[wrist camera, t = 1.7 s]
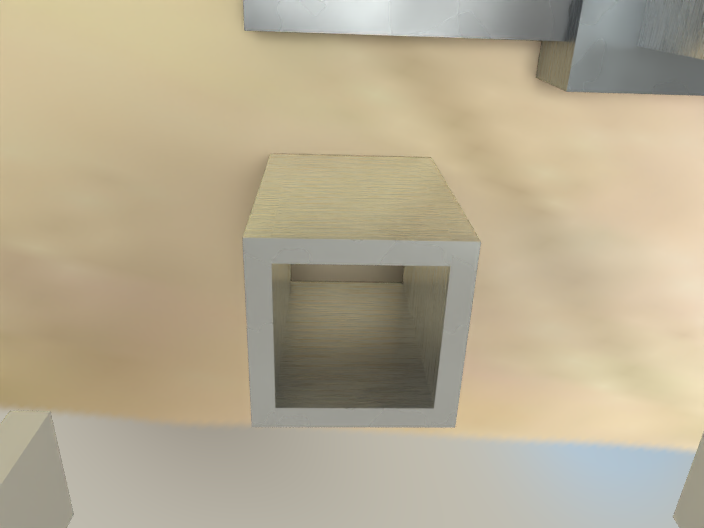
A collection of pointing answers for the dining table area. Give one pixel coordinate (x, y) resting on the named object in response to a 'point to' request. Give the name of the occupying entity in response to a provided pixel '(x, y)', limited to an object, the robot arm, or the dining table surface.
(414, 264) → the socket
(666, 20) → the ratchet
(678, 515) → the robot arm
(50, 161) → the dining table surface
